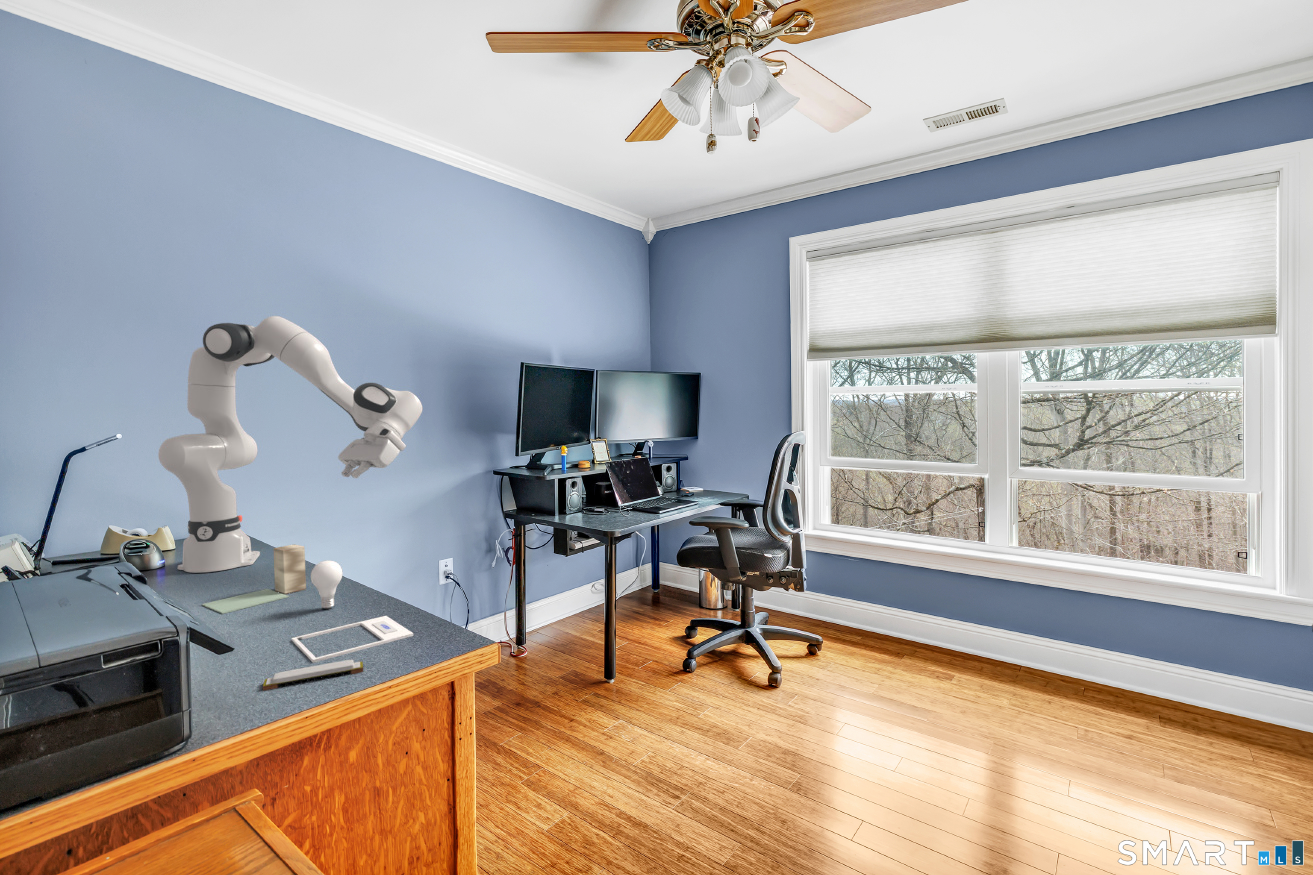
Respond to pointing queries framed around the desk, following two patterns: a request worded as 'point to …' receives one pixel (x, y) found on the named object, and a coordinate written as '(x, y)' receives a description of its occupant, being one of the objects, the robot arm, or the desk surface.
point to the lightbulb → (326, 581)
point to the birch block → (289, 569)
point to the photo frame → (377, 626)
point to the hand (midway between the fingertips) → (348, 476)
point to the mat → (244, 601)
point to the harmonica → (312, 673)
